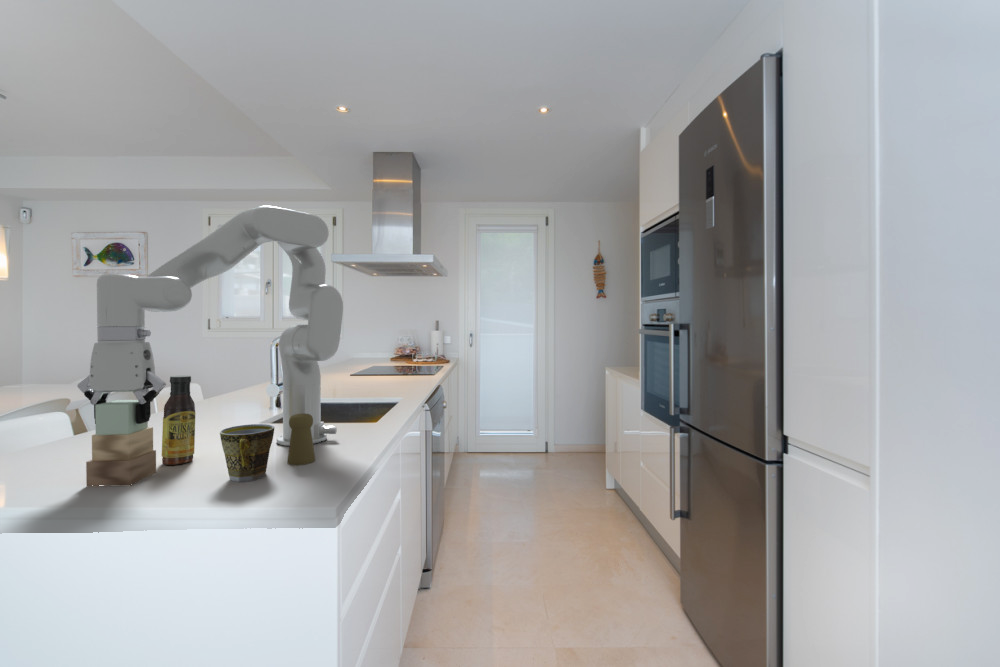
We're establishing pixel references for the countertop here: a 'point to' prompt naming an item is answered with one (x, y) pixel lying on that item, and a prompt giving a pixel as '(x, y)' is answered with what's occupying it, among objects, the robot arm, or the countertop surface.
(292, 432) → the cork
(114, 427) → the sage block
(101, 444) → the oak block
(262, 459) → the ceramic cup
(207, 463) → the countertop surface
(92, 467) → the walnut block
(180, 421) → the sauce bottle
